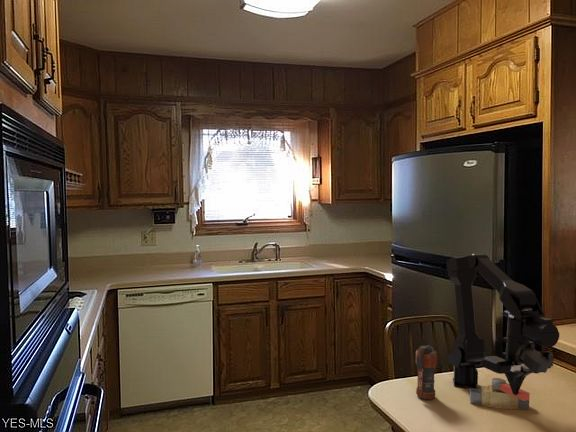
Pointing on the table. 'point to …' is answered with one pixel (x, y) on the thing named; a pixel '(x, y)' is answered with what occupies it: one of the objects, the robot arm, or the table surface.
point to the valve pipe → (496, 398)
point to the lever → (509, 389)
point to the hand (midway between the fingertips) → (515, 394)
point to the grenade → (426, 372)
